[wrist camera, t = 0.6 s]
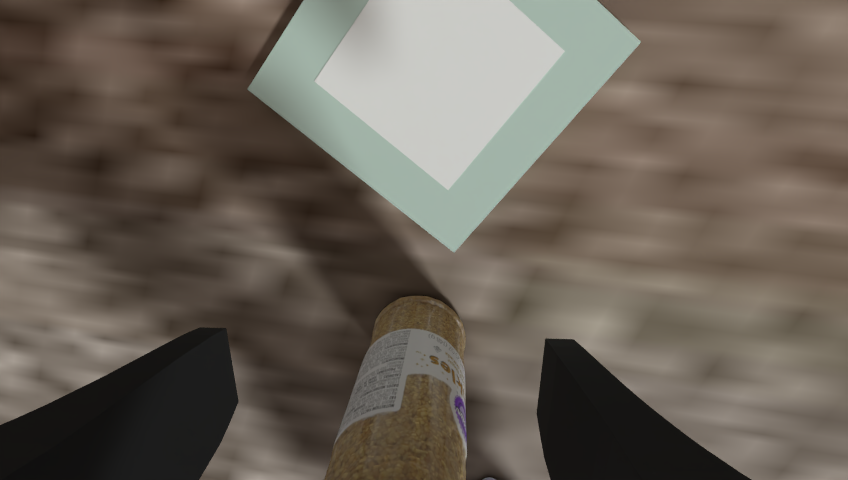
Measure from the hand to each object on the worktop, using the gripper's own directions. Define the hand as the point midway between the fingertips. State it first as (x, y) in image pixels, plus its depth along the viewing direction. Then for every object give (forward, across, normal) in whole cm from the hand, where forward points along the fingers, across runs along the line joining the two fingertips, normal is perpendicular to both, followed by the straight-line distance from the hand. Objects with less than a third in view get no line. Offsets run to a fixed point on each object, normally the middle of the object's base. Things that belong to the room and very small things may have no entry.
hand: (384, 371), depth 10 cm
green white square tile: (+11, -1, -6) cm, 13 cm away
